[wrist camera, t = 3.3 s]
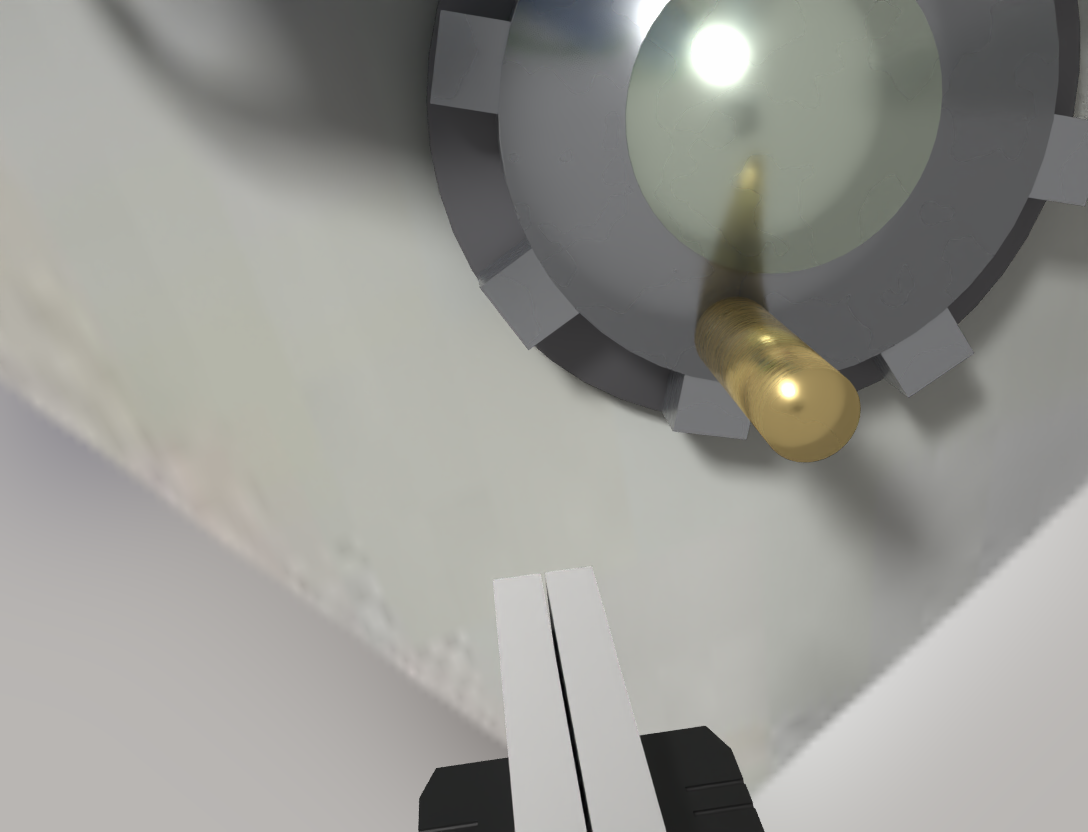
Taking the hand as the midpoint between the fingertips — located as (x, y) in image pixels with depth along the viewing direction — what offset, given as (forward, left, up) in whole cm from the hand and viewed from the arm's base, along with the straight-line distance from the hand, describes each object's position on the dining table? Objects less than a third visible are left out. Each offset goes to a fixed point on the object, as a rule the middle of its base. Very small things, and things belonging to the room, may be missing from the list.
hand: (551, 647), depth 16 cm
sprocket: (+7, +8, -17) cm, 20 cm away
